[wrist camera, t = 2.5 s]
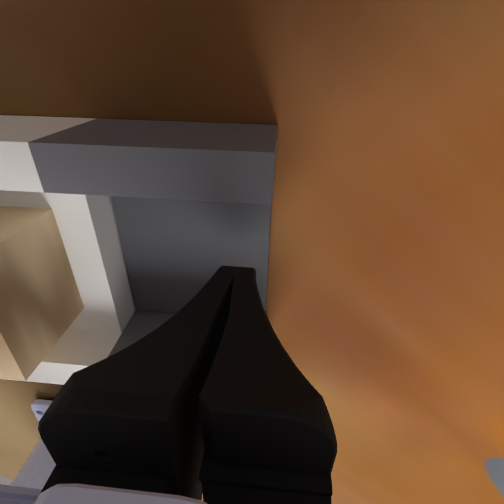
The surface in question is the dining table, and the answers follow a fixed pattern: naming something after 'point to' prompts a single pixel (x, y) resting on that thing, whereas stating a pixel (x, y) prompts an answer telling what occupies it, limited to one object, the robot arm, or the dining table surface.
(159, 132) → the trap box
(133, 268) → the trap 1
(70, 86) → the dining table surface
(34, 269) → the maple block
